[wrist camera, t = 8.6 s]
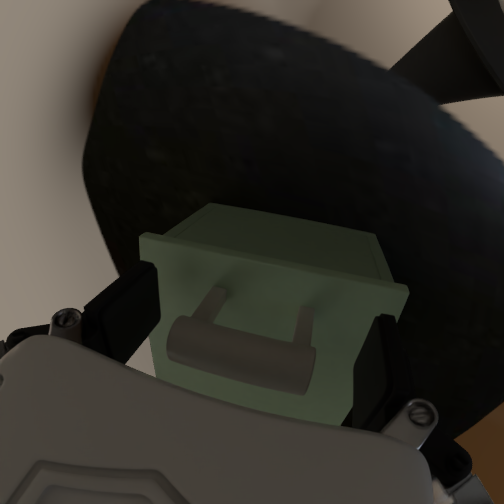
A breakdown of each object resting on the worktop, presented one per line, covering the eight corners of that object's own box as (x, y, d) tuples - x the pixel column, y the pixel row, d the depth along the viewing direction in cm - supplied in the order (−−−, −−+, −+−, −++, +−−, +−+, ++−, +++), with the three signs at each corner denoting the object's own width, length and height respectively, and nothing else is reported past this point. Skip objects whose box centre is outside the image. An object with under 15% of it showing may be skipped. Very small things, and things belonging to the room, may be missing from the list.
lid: (145, 231, 14) (75, 278, 9) (406, 284, 11) (437, 364, 7) (167, 409, 20) (140, 456, 16) (319, 448, 18) (310, 503, 13)
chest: (209, 202, 22) (146, 245, 14) (375, 233, 20) (401, 299, 12) (205, 344, 28) (167, 408, 20) (327, 372, 26) (319, 448, 18)
